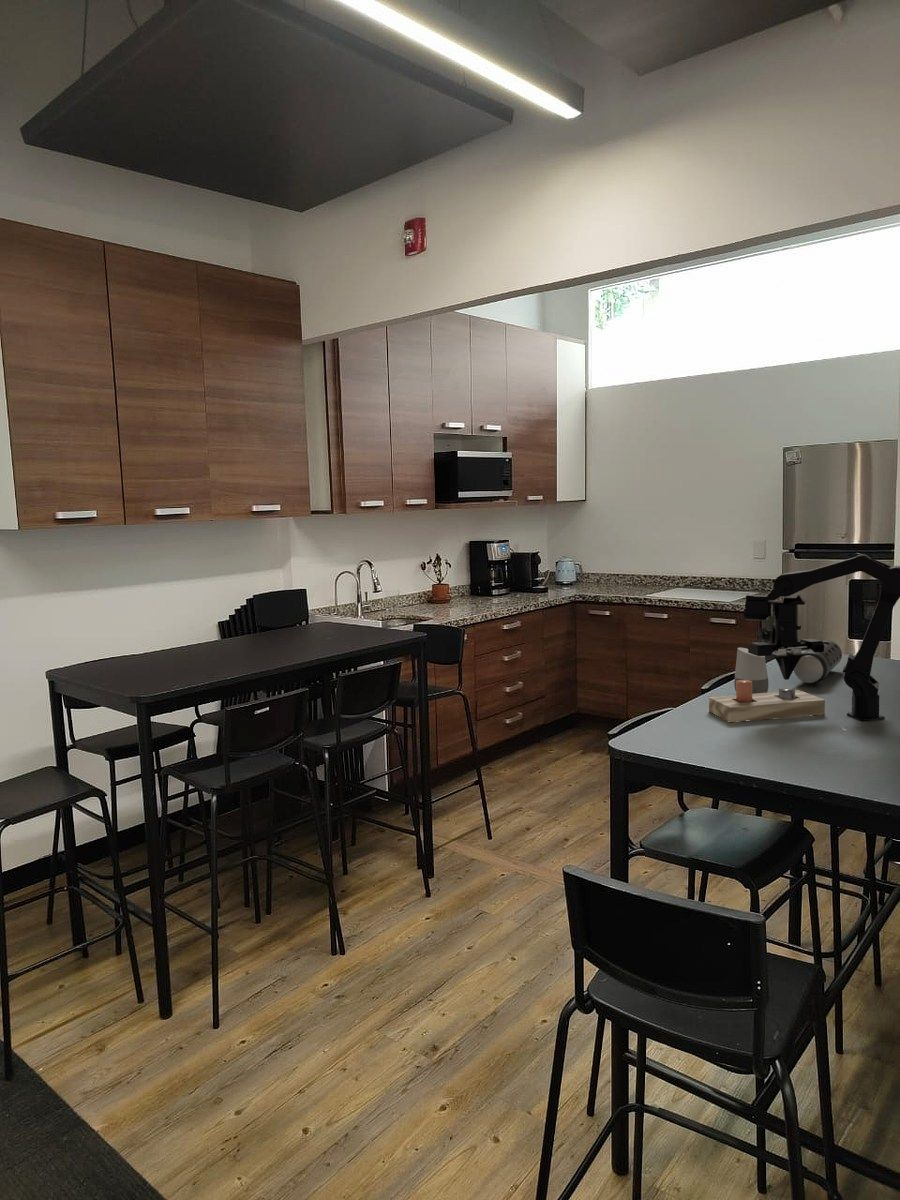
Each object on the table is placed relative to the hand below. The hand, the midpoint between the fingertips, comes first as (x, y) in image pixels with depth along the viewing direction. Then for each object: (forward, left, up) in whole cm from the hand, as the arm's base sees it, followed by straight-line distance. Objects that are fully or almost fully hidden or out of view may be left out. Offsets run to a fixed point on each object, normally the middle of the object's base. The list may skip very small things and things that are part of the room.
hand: (786, 679), depth 215 cm
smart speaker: (+19, 0, -9) cm, 21 cm away
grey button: (0, 0, -8) cm, 8 cm away
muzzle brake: (+34, -30, -9) cm, 46 cm away
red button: (0, +12, -5) cm, 13 cm away
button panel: (0, +6, -9) cm, 10 cm away
